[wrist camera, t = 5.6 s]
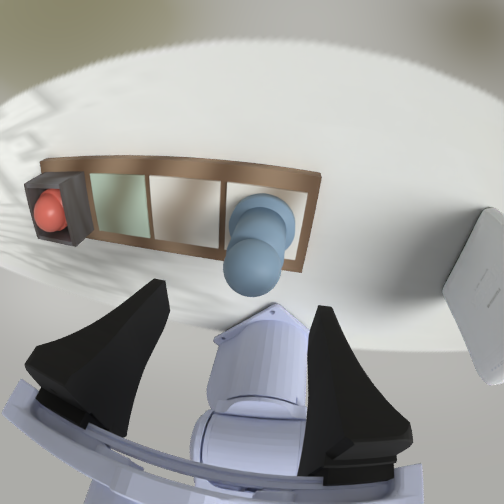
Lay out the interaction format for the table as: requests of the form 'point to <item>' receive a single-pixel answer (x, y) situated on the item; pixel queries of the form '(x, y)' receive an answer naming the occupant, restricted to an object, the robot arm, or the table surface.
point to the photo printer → (481, 295)
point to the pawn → (258, 243)
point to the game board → (169, 201)
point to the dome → (50, 211)
